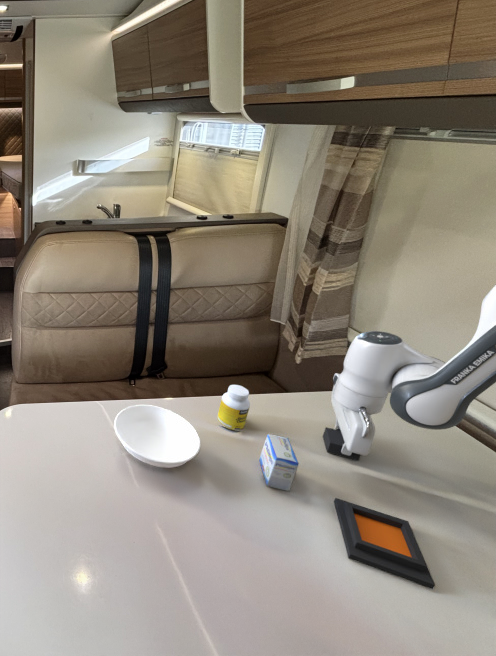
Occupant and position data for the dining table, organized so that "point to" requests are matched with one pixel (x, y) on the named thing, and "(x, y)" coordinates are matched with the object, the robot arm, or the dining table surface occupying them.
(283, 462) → the medicine box
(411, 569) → the picture frame
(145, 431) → the bowl
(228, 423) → the pill bottle
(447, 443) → the dining table surface
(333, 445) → the black block
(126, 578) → the dining table surface
